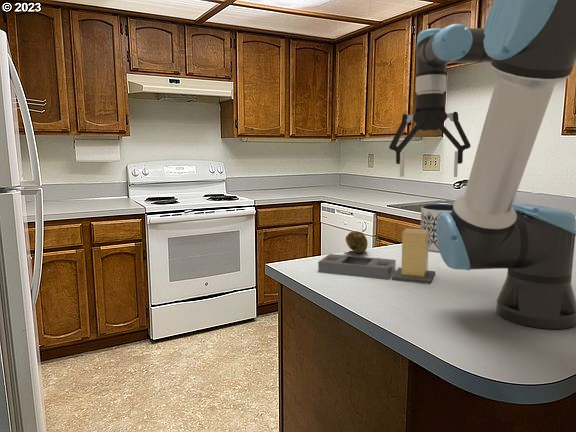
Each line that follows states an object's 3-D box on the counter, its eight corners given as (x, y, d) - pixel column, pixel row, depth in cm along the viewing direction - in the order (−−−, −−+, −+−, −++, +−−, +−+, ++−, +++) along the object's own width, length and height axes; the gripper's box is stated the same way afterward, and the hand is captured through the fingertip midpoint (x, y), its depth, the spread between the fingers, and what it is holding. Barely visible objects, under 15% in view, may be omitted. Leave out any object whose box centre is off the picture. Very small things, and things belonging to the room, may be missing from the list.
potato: (373, 250, 155) (374, 227, 154) (363, 258, 144) (364, 234, 142) (350, 248, 159) (350, 225, 157) (339, 256, 147) (339, 232, 146)
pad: (430, 284, 117) (430, 281, 116) (391, 279, 121) (391, 276, 121) (435, 273, 125) (435, 271, 125) (398, 270, 130) (398, 267, 130)
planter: (446, 241, 167) (448, 203, 164) (478, 250, 152) (480, 208, 150) (410, 245, 161) (411, 205, 159) (440, 255, 146) (441, 211, 144)
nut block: (424, 278, 119) (425, 233, 117) (401, 275, 121) (402, 232, 120) (427, 272, 124) (428, 229, 122) (405, 270, 127) (406, 228, 125)
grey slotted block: (395, 269, 130) (395, 259, 130) (387, 279, 121) (388, 268, 121) (329, 263, 138) (329, 253, 138) (318, 271, 129) (318, 261, 129)
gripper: (482, 92, 115) (479, 176, 118) (384, 98, 124) (383, 175, 127) (483, 89, 108) (479, 177, 111) (379, 95, 117) (378, 177, 120)
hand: (428, 176), depth 119 cm, fingers open, 13 cm apart
